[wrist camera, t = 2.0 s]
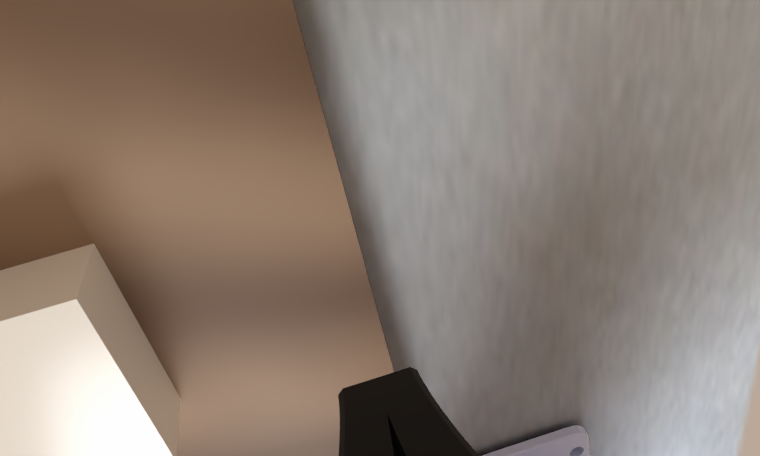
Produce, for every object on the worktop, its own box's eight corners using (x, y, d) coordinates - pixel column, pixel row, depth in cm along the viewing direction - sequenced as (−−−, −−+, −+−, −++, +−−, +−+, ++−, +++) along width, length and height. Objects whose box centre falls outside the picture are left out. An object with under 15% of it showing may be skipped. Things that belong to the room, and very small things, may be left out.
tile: (180, 398, 16) (176, 461, 15) (-14, 458, 16) (-41, 530, 14) (93, 243, 14) (76, 299, 12) (-143, 311, 13) (-195, 378, 11)
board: (408, 432, 21) (418, 462, 20) (13, 560, 20) (2, 598, 19) (261, -106, 12) (265, -101, 11) (-461, 78, 11) (-528, 101, 10)
